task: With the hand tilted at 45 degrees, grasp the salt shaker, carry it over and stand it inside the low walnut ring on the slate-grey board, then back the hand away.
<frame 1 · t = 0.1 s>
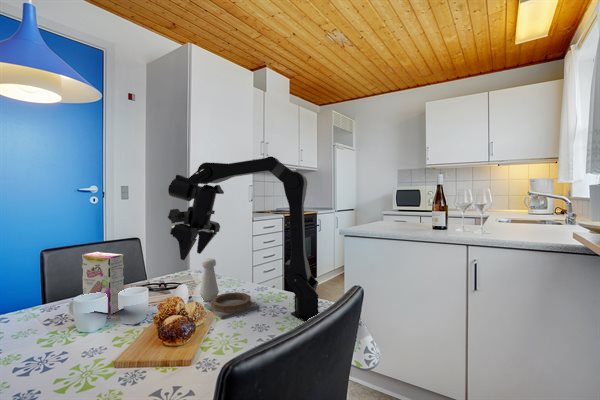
hand: (191, 256, 88), 15 cm above the table, tool pointing down, fingers open, 9 cm apart
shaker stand: (231, 307, 89), on the table
salt shaker: (209, 300, 96), on the table
candy bar box: (103, 310, 88), on the table
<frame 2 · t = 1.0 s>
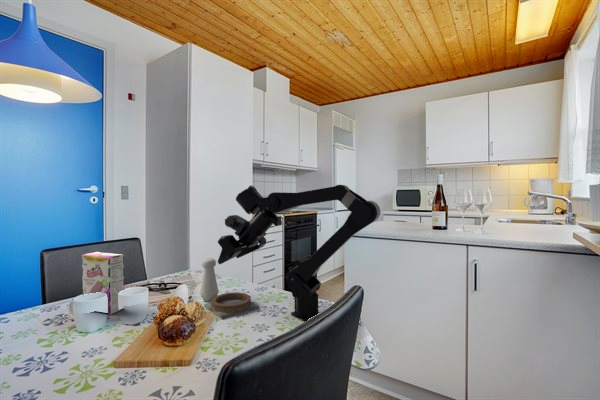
hand: (228, 260, 93), 13 cm above the table, tool tilted 45°, fingers open, 9 cm apart
nothing on the table moved.
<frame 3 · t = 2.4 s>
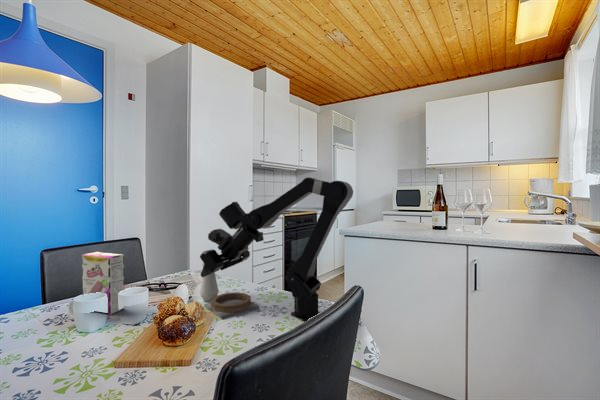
hand: (211, 272, 96), 9 cm above the table, tool tilted 45°, fingers open, 9 cm apart
nothing on the table moved.
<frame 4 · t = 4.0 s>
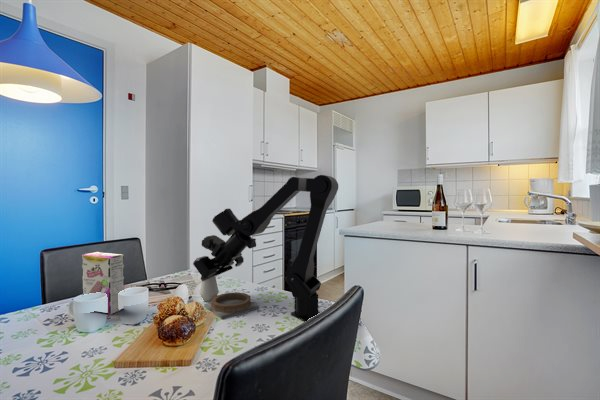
hand: (205, 278, 97), 7 cm above the table, tool tilted 45°, fingers closed on salt shaker, 3 cm apart
salt shaker: (209, 300, 96), on the table, touching gripper
everything else where it was.
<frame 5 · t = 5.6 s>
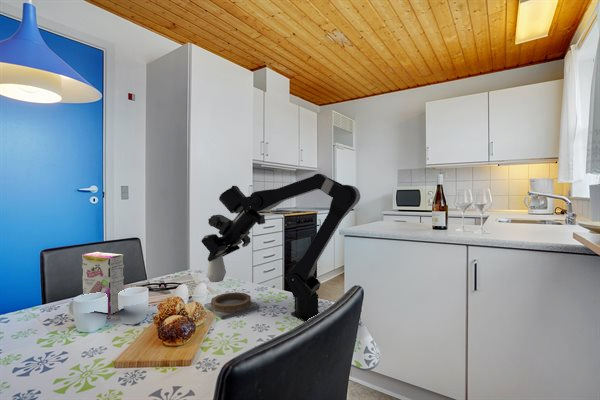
hand: (212, 259, 94), 13 cm above the table, tool tilted 45°, fingers closed on salt shaker, 3 cm apart
salt shaker: (216, 281, 93), point 7 cm above the table, touching gripper
everything else where it was.
when the fingers open (8 cm above the table, at t = 7.6 s): salt shaker drops 1 cm, resting on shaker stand.
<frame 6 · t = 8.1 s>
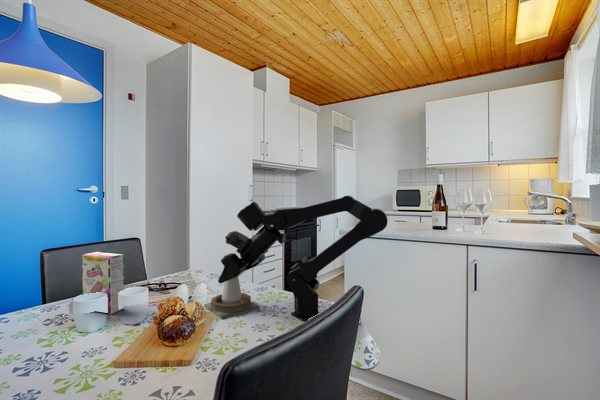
hand: (226, 278, 89), 9 cm above the table, tool tilted 45°, fingers open, 9 cm apart
salt shaker: (231, 305, 89), point 1 cm above the table, touching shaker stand
everything else where it was.
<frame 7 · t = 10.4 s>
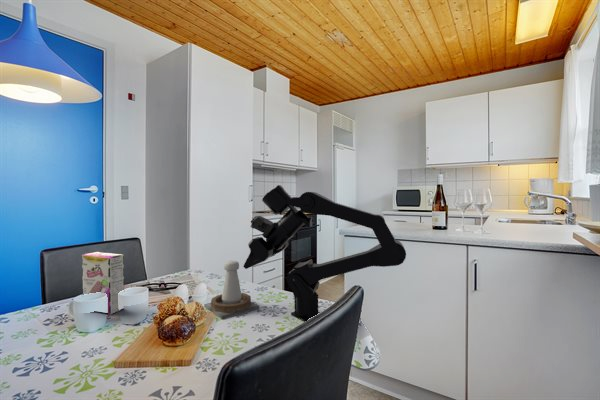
hand: (251, 263, 87), 13 cm above the table, tool tilted 45°, fingers open, 9 cm apart
nothing on the table moved.
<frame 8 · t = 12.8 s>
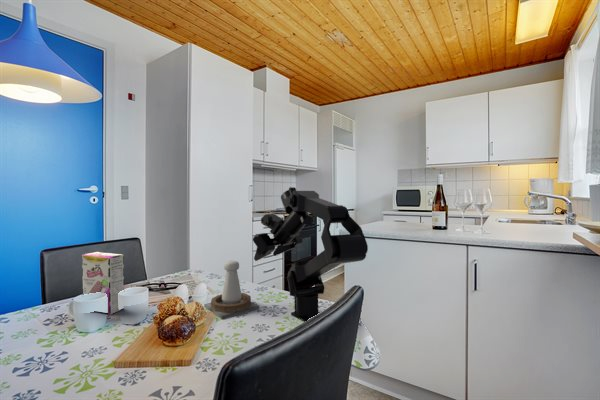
hand: (264, 257, 96), 14 cm above the table, tool tilted 45°, fingers open, 9 cm apart
nothing on the table moved.
at the end: salt shaker 0.2 cm off-centre on the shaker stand, point 0.6 cm above the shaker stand's base; salt shaker tilted 0°; the gripper is holding nothing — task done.
